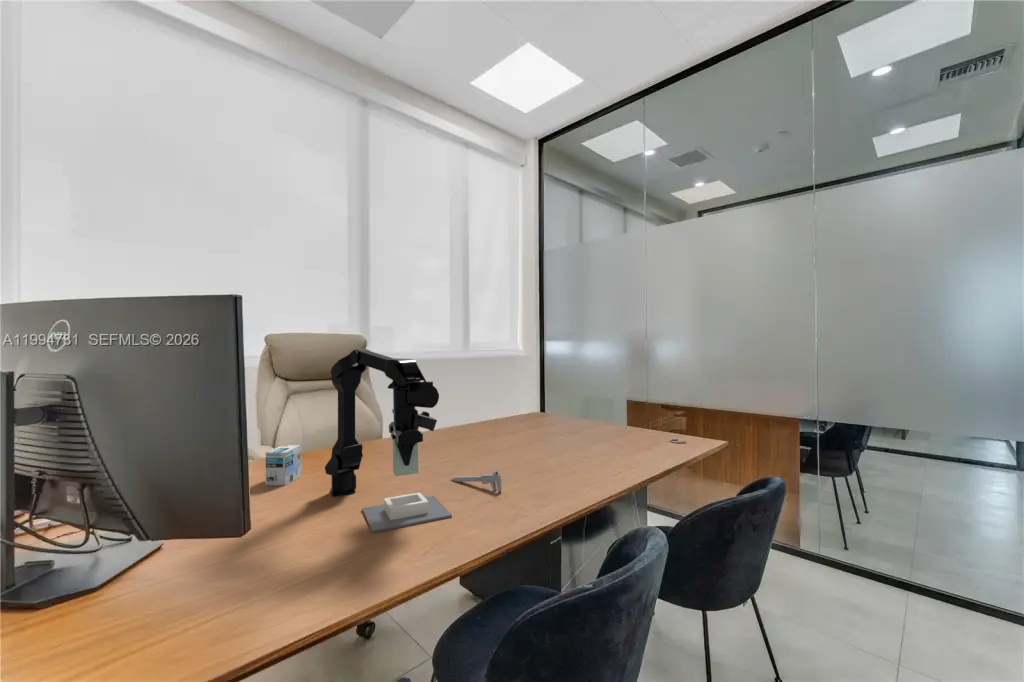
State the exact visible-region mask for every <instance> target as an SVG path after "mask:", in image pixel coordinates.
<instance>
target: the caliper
mask: <svg viewBox="0 0 1024 682" xmlns="http://www.w3.org/2000/svg"><path fill="white" fill-rule="evenodd" d="M501 477H502V476H501V475H500V474H499V472H498V470H497V471H495V470H493V471H492V474H482V475H479V476H478V475H477V476H454V477H453V478H451V479H450V481H453V482H458V483H460V482H461V483H463V482H464V483H465V482H466V483H468V482H471V483H472V482H475V483H476V482H478V483H479V482H480V483H482V485H488V484H490V485H491V488H492V490H493V492H497V491H498V493H499V492H502V478H501Z"/></svg>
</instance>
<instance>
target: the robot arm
mask: <svg viewBox="0 0 1024 682" xmlns="http://www.w3.org/2000/svg"><path fill="white" fill-rule="evenodd" d="M368 367H369V368H372V369H375V370H378V371H380V372H383V373H384V374H385V376H386V377H387V378H388V379H390V380H391V381H392V382H391V383H389V385H388V386H387V389H389V390H390V389H391V390H392V397H393V399H392V403H393V408H391V409H392V411H391V413H392V414H393V421H391V422H390V423H389V425H388V433H389V434H391V435H390V437H391V439H392V440H393V439H396V440H397V441H395V442H396V445H397V448H398V450H399V452H400V455H401V458H402V460H403V463H404V465H405V466H408V465H409V463H410V459H411V454H412V450H413V447H414V445H415V444H416V443H418V444H419V443H422V442H423V441H424V434H423V433H422V432H421V431H420V430H419V428H422V429H425V430H429V431H431V432H434V431H435V428H436V425H437V421H438V419H436V418H435V417H433V416H430V413H429V412H428V411H424V410H423V411H422V412H421V413H419V411H418V410H417V408H426V409H433V408H435V406H437V404H438V402H439V398H440V393H439V391H438V388H437V387H435V386H434V381H430V380H429V381H427V380H426V379H425V376H424V374H423V373H422V371H421V369H420V367H419V365H418V363H417V360H415V359H413V358H394V357H390V356H387V355H384V354H380V353H377V352H374V351H371V350H369V349H368V348H365V349H361V348H360V349H359V348H357V349H354V350H352V351H351V352H350V353H349V354H347V355H345V356H344V357H342V358H341V359H338V360H337V362H335V363H334V364H333V366H332V367H331V368H330V375H331V383H332V385H333V387H334V388H335V390H336V391H337V440H336V442H335V443H334V446H333V447H332V449H331V456H330V457H331V458H330V459H329V460H328V461H327V463H326V465H325V466H324V470H325V474H326V475H329V476H331V478H330V479H331V483H330V484H331V485H330V486H331V487H330V493H331V496H332V497H336V496H343V495H349V494H355V493H356V490H357V475H356V473H355V471H356V470H360V466H361V462H362V459H363V457H364V453H363V448H364V447H363V444H362V443H360V442H359V441H358V440H357V439H356V391H357V389H358V388H359V385H360V384H361V381H362V374H363V373H365V372H366V370H367V369H368ZM416 407H417V408H416Z"/></svg>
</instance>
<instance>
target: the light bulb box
mask: <svg viewBox="0 0 1024 682" xmlns="http://www.w3.org/2000/svg"><path fill="white" fill-rule="evenodd" d="M301 477H302V445H300V444H296V445H295V444H282V445H279V446H278V447H275V448H273V449H271V450H268V451H266V452H265V486H287V485H289V484H291V483H292V482H293V481H295V480H297V479H298V478H301Z"/></svg>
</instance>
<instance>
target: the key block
mask: <svg viewBox="0 0 1024 682" xmlns="http://www.w3.org/2000/svg"><path fill="white" fill-rule="evenodd" d="M395 441H397V440H396V439H392V463H393V464H392V467H393V469H392V470H393V471H392V472H393V474H394V476H395V477H400V476H401V477H402V476H408V475H415V474H419V442H418V443H416V444H415V445H414V447H413V450H412V454H411V459H410V463H409V465H408V466H405V465H404V463H403V460H402V458H401V455H400V452H399V450H398V448H397V445H396V442H395Z"/></svg>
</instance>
